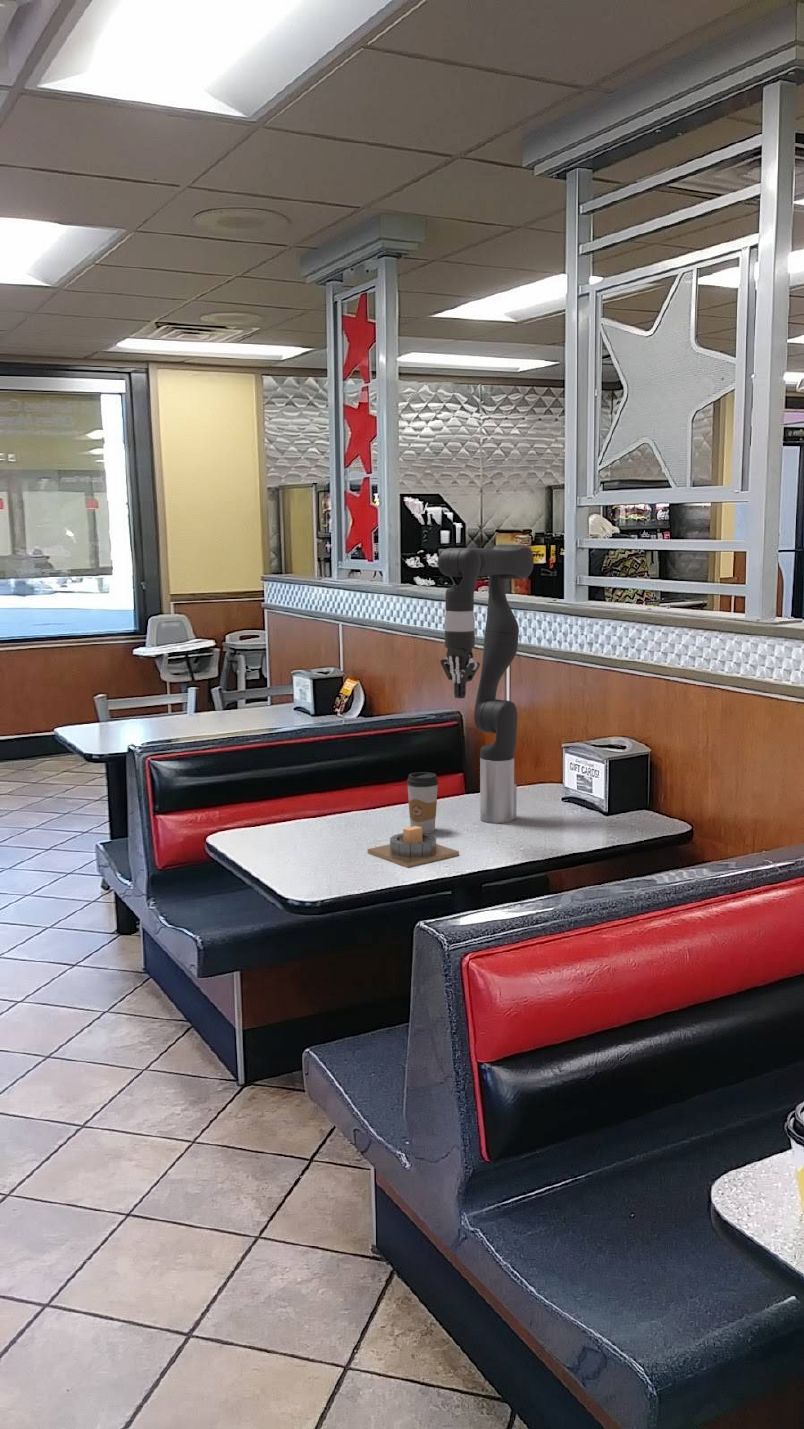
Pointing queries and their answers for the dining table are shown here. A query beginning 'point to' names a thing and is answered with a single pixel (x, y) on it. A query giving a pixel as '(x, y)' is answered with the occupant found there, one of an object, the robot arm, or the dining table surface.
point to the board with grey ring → (413, 851)
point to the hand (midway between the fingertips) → (459, 697)
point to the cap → (412, 834)
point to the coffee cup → (422, 800)
